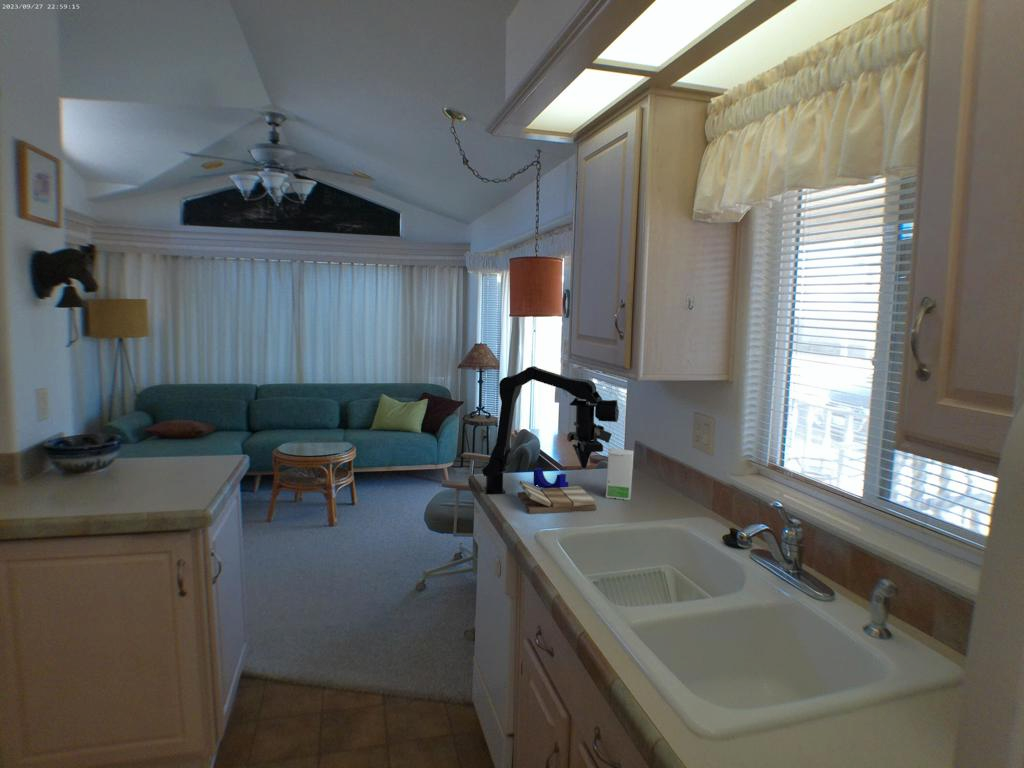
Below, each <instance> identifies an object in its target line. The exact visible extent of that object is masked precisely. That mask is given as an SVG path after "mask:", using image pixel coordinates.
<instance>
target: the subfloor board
mask: <svg viewBox="0 0 1024 768" xmlns="http://www.w3.org/2000/svg"><path fill="white" fill-rule="evenodd" d="M516 496H518V497H517V498H518V500H519V499H520V500H519V501H520V502H521V504H522V506H525V507H524V508H525V509H527V510H526V511H527V512H528V514H529V515H539V514H560V513H575V511H576V513H578V512H577V511H582V512H595V510H596V511H597V505H596V503H595V504H594V505H580V506H573V505H572V506H566V507H552V505H550V507H549V506H547V505H544V504H542V503H540V502H537V501H535V500H533V499H530V498H529V497H528V495H527V494H526V493H525V491H517V495H516Z"/></svg>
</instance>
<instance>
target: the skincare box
mask: <svg viewBox="0 0 1024 768" xmlns="http://www.w3.org/2000/svg"><path fill="white" fill-rule="evenodd" d="M633 465H634V450H629V449H622V448H612V447H611V448H608V452H607V465H606V466H607V467H606V469H607V470H606V481H605V482H606V485H605V498H607V499H614V498H616V499H615V500H623V499H624V501H625V500H626V501H630V500H631V497H632V480H633V479H632V478H633V469H634V468H633Z"/></svg>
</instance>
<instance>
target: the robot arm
mask: <svg viewBox="0 0 1024 768" xmlns="http://www.w3.org/2000/svg"><path fill="white" fill-rule="evenodd" d="M532 380H533V381H536V382H539V383H542V384H545V385H548V386H551V387H555V388H559V389H562V390H564V391H566V392H567V393H569V394H570V395H571V396H573V397H575V398H573V400H572V402H570V403H569V406H574V407H576V408H575V421H574V422H573V426H575V431H570V432H568V433H567V435H566V436H567V437H566V441H568V442H569V443H570V442H572V441H574V444H572V448H573V449H574V451H575V454H576V457H577V459H578V461H579V464H580V466H581V468H582V469H586V468H587V466H588V463H589V460H590V456H591V455H592V453H599V452H604V444H603V443H602V442H600V441H603V442H605V443H607V444H609V442H610V439H611V437H612V434H613V433H611V432H609V431H607V430H605V428H604V426H602V425H599V424H596V423H595V418H596V419H597V421H599V422H612V423H618V420H619V415H620V409H619V405H618V400H617V399H612V400H611V399H603V397H602V396H601V395H600V394H599V392H598V390H597V386H596V383H595V382H594V381H593V380H591V379H584V378H575V377H574V378H573V377H569V376H566V375H565V376H564V375H562V374H559V373H556V372H552V371H549V370H546V369H542V368H540V367H537V366H534V365H532V366H528V367H526V368H525V369H524V370H522V371H520V372H519V373H516V374H515V375H509V376H505V377H503V378H501V380H500V381H499V384H498V388H499V390H498V393H499V397H500V401H501V404H500V411H499V412H500V413H499V420H498V425H497V426H498V427H497V435H496V441H495V445H494V447H493V448H492V449H493V450H492V452H491V453H490V457H489V460H488V464H487V465H486V466H484V468H482V469H481V471H482V474H483V477H485V487H484V486H483V490H484V492H485V494H486V495H492V494H497V495H498V494H506V490H505V488H504V472H506V470H507V469H508V467H509V466H511V464H512V462H514V454H515V449H512V448H511V443H510V442H511V435H512V430H513V429H512V427H513V421H514V414H515V405H516V403H517V400H518V398H519V396H520V393H521V391H522V387H523V386H524V385H526V384H528V383H529V382H531V381H532ZM598 440H600V441H598Z"/></svg>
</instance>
